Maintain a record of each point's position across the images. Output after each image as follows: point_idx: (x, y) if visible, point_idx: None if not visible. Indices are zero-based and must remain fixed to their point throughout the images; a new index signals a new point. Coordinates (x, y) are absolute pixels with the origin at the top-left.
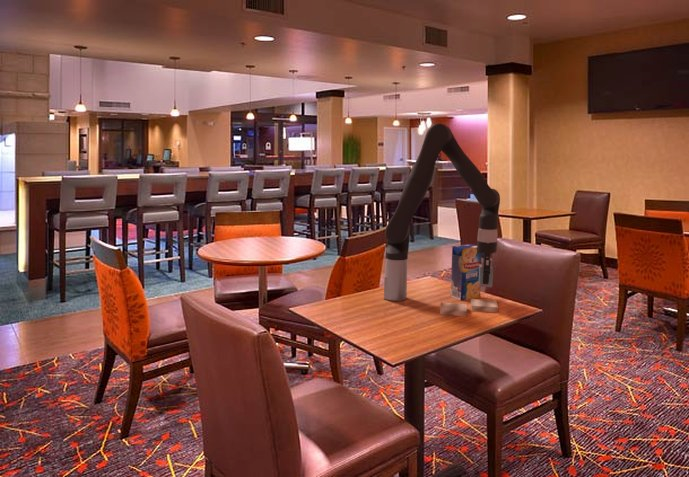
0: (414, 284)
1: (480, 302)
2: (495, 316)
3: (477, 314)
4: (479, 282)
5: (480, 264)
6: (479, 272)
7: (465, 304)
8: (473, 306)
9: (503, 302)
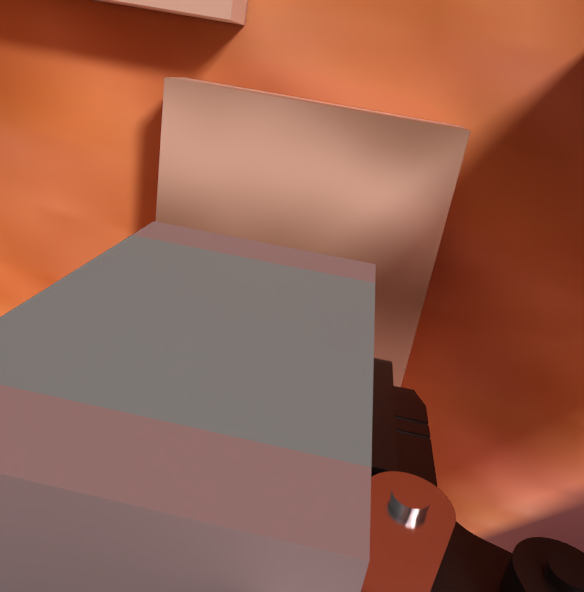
0: None
1: (307, 215)
2: (41, 271)
3: (64, 116)
4: (119, 245)
5: (304, 581)
6: (141, 342)
7: (204, 3)
8: (166, 100)
9: (491, 464)
